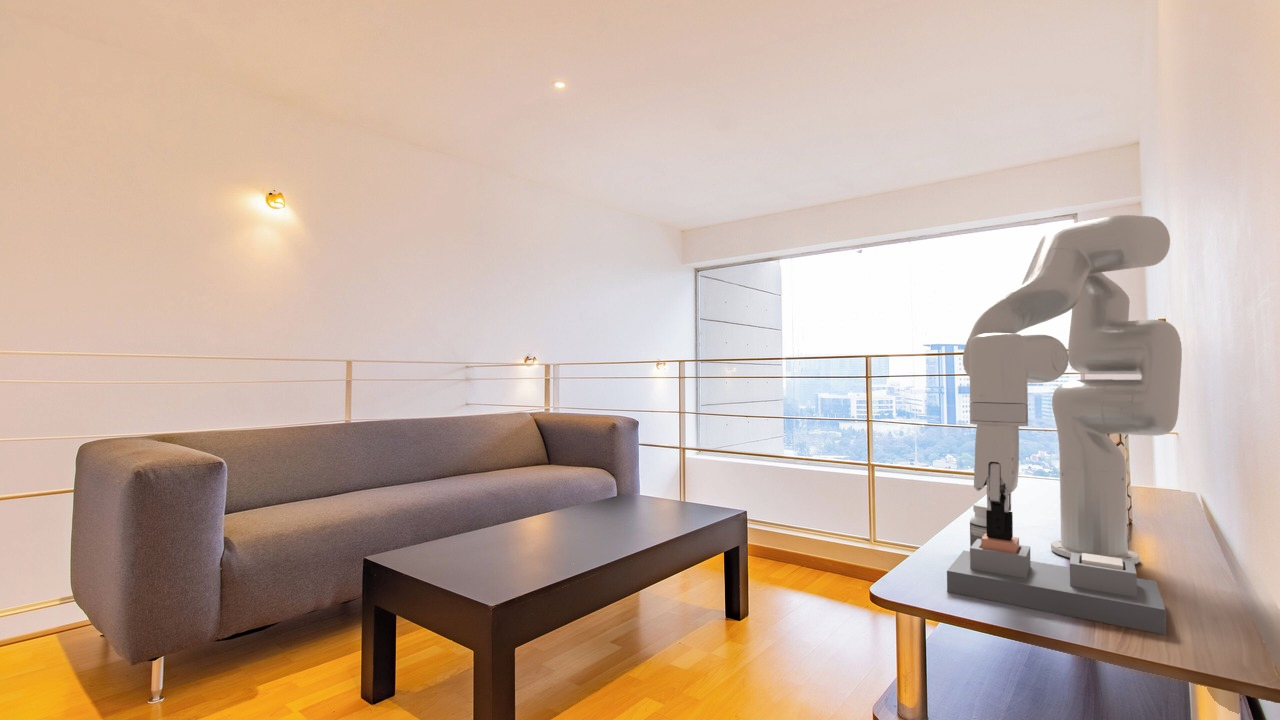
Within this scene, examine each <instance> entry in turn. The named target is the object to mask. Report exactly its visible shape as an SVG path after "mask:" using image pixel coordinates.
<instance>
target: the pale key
mask: <svg viewBox="0 0 1280 720" xmlns="http://www.w3.org/2000/svg"><path fill="white" fill-rule="evenodd" d="M1082 564H1088V565H1094V566H1101V567H1107V568H1114V569H1120V570H1123V562H1122V559H1121V558H1114V557H1107V556H1101V555H1094V554H1087V553H1082Z"/></svg>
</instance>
